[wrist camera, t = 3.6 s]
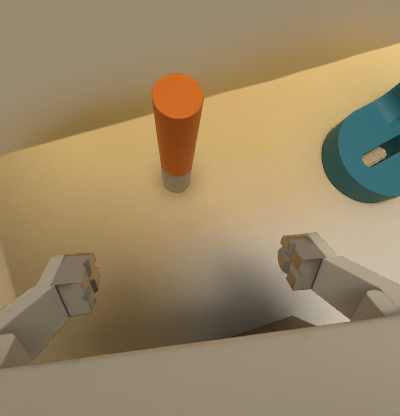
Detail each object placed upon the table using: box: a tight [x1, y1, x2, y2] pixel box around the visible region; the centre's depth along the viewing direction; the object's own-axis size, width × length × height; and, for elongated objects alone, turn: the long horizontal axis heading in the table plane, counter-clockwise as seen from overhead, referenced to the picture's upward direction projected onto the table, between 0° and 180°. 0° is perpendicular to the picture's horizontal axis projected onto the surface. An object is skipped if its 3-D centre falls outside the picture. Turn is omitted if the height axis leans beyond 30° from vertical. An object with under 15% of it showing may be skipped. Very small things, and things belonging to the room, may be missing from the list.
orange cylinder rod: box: [152, 74, 204, 192], centre depth 20 cm, size 3×3×14 cm
